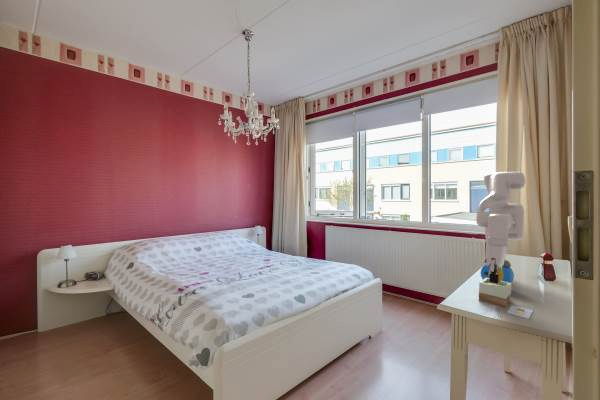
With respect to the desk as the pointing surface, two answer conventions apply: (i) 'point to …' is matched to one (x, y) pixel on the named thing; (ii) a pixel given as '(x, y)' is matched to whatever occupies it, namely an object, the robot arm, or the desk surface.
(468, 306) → the desk surface
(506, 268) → the alarm clock
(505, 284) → the top brick
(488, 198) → the robot arm
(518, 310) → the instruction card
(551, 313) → the desk surface
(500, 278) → the lemon
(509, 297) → the base brick
